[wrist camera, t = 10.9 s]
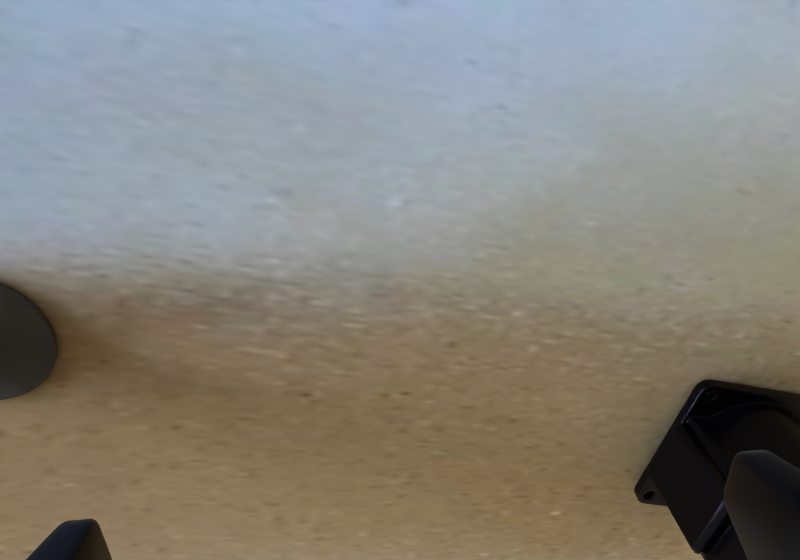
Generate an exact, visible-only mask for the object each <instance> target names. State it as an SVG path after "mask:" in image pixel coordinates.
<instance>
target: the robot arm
mask: <svg viewBox="0 0 800 560" xmlns="http://www.w3.org/2000/svg"><path fill="white" fill-rule="evenodd" d="M708 392H709V393H708ZM706 393H708V394H706ZM634 492H635V494H636V496H637V498H638V500H639V501H640V502H641V503H646V504H654V505H662V506H668V508H669V510H670V512H671V513H672V515H673V517H674V519H675V520H676V522H677V524H678V526H679V527H680V529H681V531H682V533H683V535H684V536H685V538H686V540H687V542H688V543H689V545H690V547H691V549H692V550H693V551H694V553H697V554H701V555H702V557H703V559H704V560H800V394H794V393H788V392H782V391H776V390H770V389H764V388H758V387H752V386H746V385H741V384H735V383H729V382H723V381H717V380H704V381H702V382H700V383H699V384H697V385H696V387H695V388H694V390H693V391H692V393H691V395H690V396H689V398H688V400H687V401H686V403H685V405H684V406H683V408H682V410H681V411H680V413H679V414H678V416H677V418H676V419H675V421H674V423H673V424H672V426H671V428H670V429H669V431H668V433H667V434H666V436H665V438H664V439H663V441H662V443H661V444H660V446H659V448H658V449H657V451H656V453H655V454H654V456H653V458H652V459H651V461H650V463H649V464H648V466H647V468H646V469H645V471H644V473H643V474H642V476H641V478H640V479H639V481H638V483H637V484H636V486H635V489H634ZM26 560H112V558H111V555H110V552H109V550H108V547H107V544H106V542H105V539H104V537H103V534H102V531H101V529H100V526H99V524H98V522H97V521H95V520H94V519H83V520H73V521H66V522H64V523H62V524H61V525H59V526H58V527H57V528H56V529H55V530H54V531H53V532H52V533H51V534H50V535H49V536H48V537H47V538H46V539H45V540H44V541H43V542H42V543H41V545H40V546H39V547H38V548H37V549H36V550H35V551H34V552H33V553H32V554H31V555H30V556H29V557H28V558H27V559H26Z"/></svg>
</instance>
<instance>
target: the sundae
mask: <svg viewBox="0 0 800 560" xmlns="http://www.w3.org/2000/svg"><path fill="white" fill-rule="evenodd" d="M56 357H57V352H56V342H55V337H54V333H53V331H52V329H51V327H50V325H49V324H48V322H47V320H46V319H45V318H44V316H43V315H42V314H41V312H40V311H39V310H38V308H36V307H35V306H34V305H33V304H32V303H30V302H29V301H28V300H27V299H26V298H24V297H23V296H21V295H20V294H18V293H17V292H15V291H14V290H12V289H10V288H8V287H5V286H3V285H1V284H0V400H3V399H8V398H12V397H16V396H19V395H22V394H25V393H28V392H30V391H31V390H32V389H34V388H35V387H37V386H38V385H40V384H41V383H42V382H43V381H44V380H45V379H46V378H47V377H48V376H49V374H50V372H51V370H52V368H53V366H54V363H55V360H56Z"/></svg>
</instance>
